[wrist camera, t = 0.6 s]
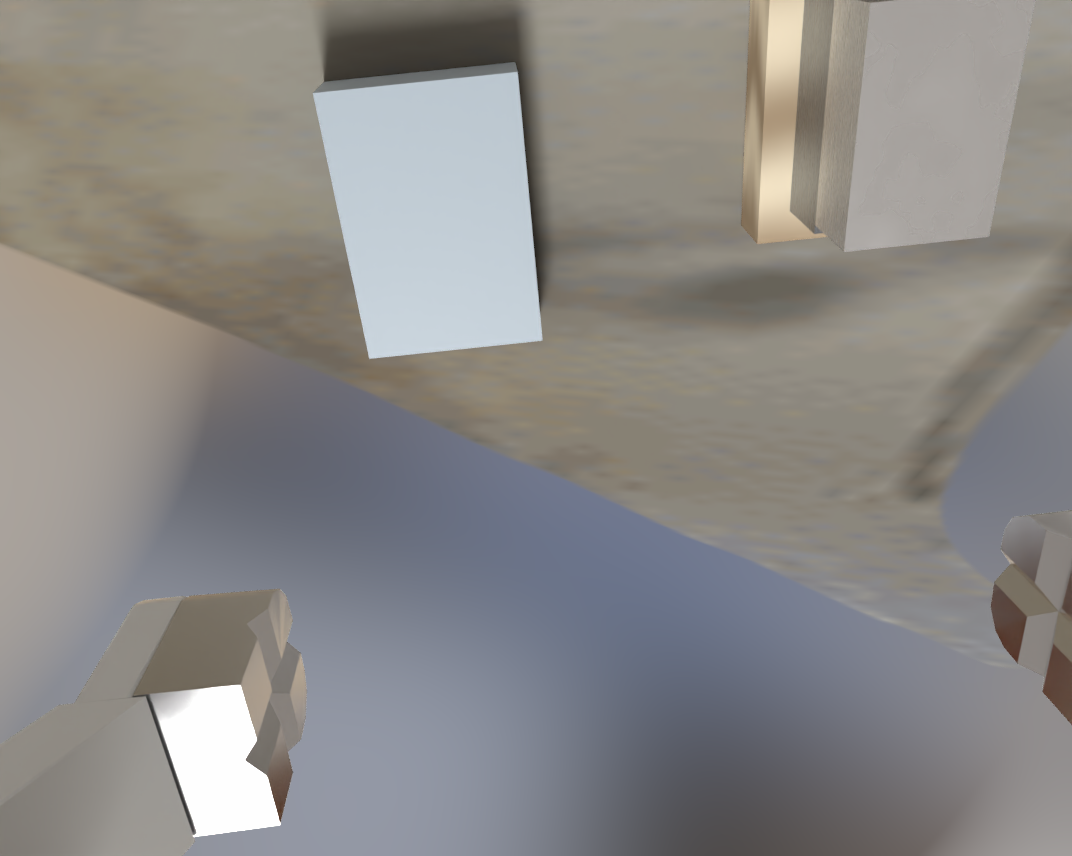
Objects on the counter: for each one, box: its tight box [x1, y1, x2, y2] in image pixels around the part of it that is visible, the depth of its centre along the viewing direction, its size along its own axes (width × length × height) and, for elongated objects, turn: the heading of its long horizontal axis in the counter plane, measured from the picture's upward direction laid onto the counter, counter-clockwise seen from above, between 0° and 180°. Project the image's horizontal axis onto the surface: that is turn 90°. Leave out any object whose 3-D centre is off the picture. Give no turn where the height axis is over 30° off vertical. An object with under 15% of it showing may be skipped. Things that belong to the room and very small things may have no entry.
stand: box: [313, 62, 542, 359], centre depth 42 cm, size 13×9×3 cm
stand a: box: [741, 0, 827, 244], centre depth 40 cm, size 13×9×3 cm
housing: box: [790, 0, 1036, 252], centre depth 35 cm, size 10×6×7 cm, turn 5°
